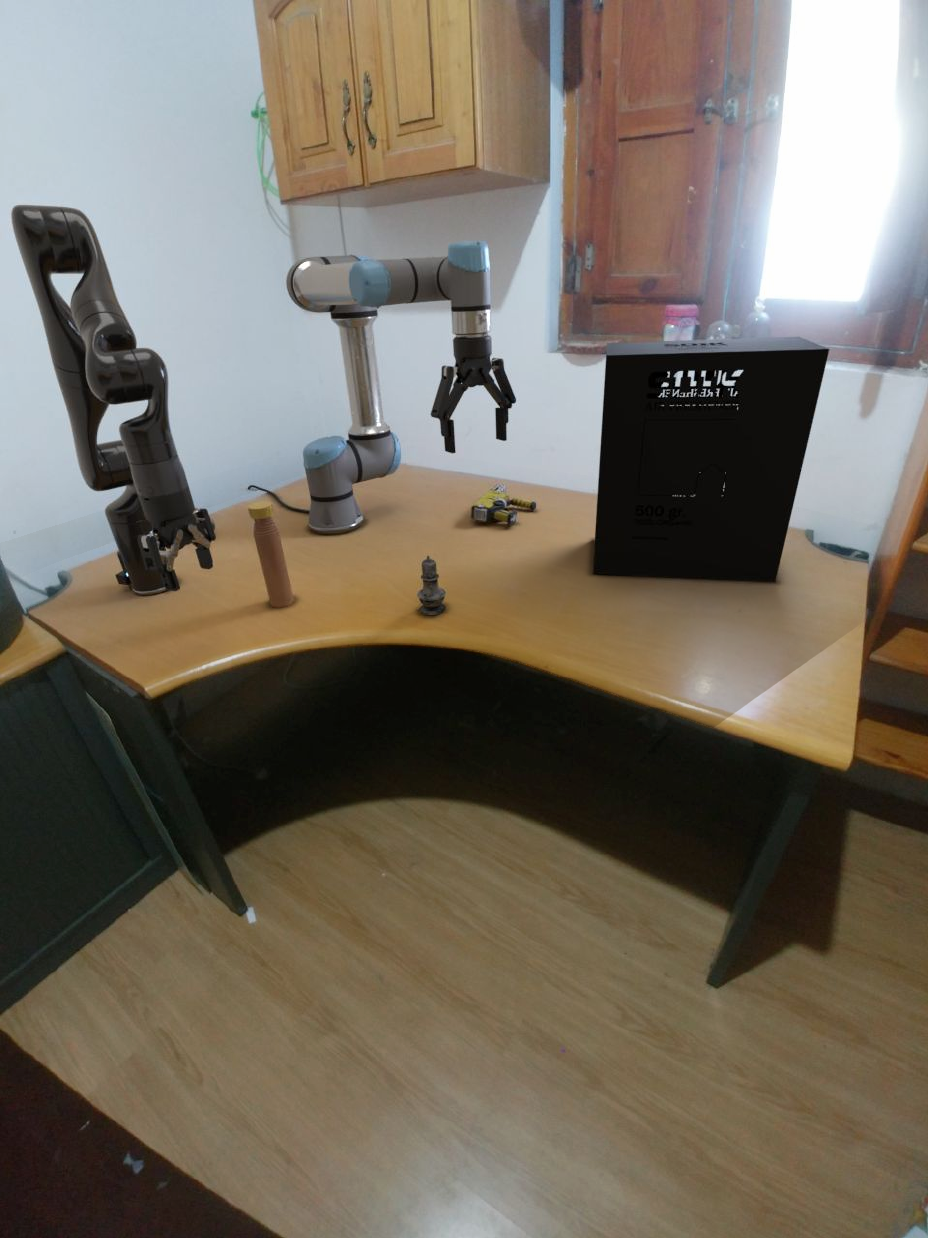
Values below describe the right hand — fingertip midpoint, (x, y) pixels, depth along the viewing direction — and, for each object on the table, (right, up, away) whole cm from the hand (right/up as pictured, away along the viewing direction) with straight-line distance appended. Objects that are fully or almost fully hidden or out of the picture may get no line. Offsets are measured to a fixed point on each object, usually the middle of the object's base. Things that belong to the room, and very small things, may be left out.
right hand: (476, 445), depth 127 cm
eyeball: (-74, -14, +40) cm, 85 cm away
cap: (-43, -14, -7) cm, 46 cm away
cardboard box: (+47, -23, +12) cm, 53 cm away
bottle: (-42, -33, +3) cm, 54 cm away
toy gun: (+10, -6, +44) cm, 46 cm away
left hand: (-50, -30, -24) cm, 62 cm away
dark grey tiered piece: (-9, -35, -3) cm, 36 cm away
